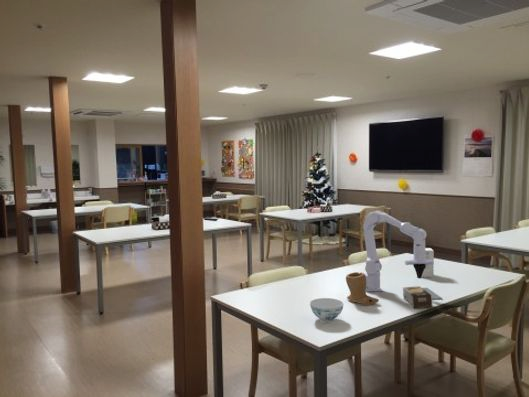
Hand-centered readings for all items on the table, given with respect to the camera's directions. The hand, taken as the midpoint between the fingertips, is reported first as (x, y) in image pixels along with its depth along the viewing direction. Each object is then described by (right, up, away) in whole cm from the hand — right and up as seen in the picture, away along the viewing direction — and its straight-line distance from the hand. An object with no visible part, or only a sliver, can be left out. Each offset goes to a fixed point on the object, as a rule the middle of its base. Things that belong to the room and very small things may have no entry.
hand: (419, 278), depth 228 cm
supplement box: (+19, -7, +44) cm, 49 cm away
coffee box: (-5, -7, -3) cm, 9 cm away
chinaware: (-53, -13, -32) cm, 63 cm away
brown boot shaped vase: (-33, -11, -7) cm, 35 cm away
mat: (+5, -10, +5) cm, 12 cm away
